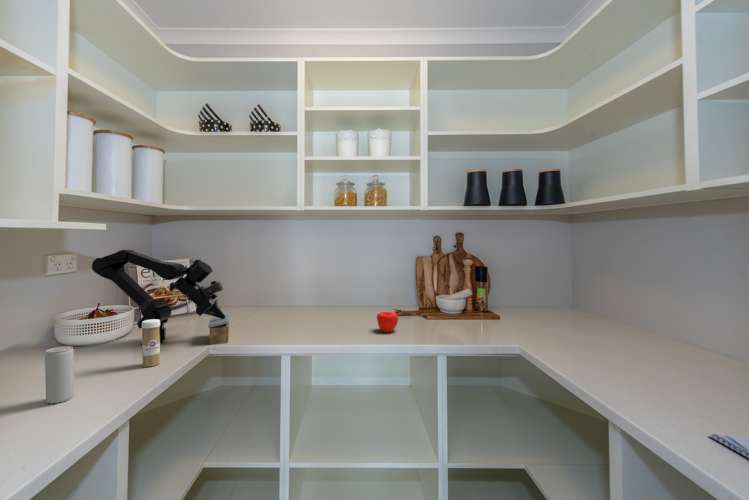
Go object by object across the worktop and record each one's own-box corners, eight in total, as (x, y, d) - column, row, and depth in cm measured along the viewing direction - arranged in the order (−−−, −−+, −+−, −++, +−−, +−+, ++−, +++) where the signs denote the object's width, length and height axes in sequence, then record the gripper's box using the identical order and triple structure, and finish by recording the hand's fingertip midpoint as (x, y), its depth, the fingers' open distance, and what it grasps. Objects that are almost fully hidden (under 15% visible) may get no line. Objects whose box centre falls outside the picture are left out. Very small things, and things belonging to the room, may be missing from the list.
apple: (399, 329, 139) (399, 311, 139) (395, 334, 131) (396, 315, 131) (379, 327, 141) (379, 309, 141) (374, 333, 133) (374, 314, 133)
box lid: (208, 327, 116) (208, 325, 116) (211, 320, 128) (211, 318, 128) (227, 323, 119) (227, 321, 119) (228, 316, 130) (228, 314, 130)
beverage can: (80, 394, 78) (79, 345, 78) (61, 404, 73) (60, 352, 73) (59, 395, 78) (58, 345, 78) (39, 405, 73) (38, 352, 73)
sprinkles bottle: (146, 368, 94) (146, 322, 94) (139, 365, 97) (138, 321, 96) (163, 363, 98) (163, 319, 98) (155, 360, 101) (155, 317, 100)
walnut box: (209, 344, 117) (209, 328, 117) (212, 335, 128) (212, 320, 128) (227, 342, 119) (227, 326, 119) (229, 334, 130) (228, 319, 130)
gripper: (206, 277, 113) (240, 306, 117) (211, 272, 130) (241, 298, 135) (180, 300, 110) (216, 330, 114) (189, 293, 127) (220, 318, 132)
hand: (224, 317), depth 124 cm, fingers closed, pressing on box lid
